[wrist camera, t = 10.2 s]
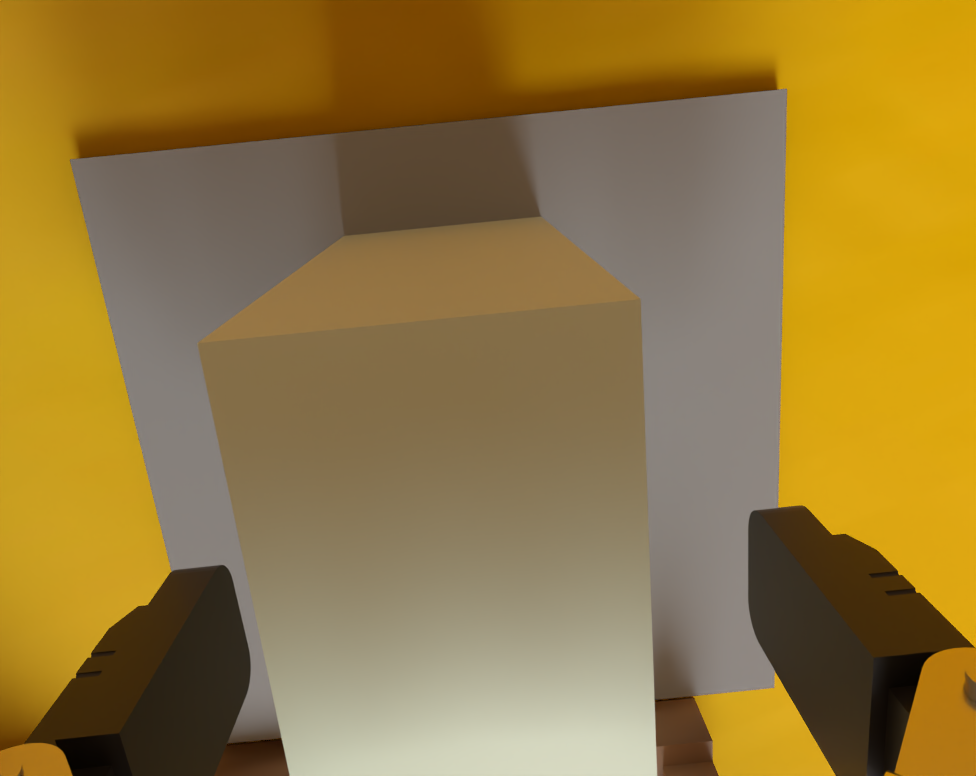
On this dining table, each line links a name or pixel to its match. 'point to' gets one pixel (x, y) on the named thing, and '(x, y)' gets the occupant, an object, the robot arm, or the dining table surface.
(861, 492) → the dining table surface
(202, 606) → the robot arm
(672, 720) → the tray
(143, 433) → the mat
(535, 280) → the block
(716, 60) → the dining table surface
